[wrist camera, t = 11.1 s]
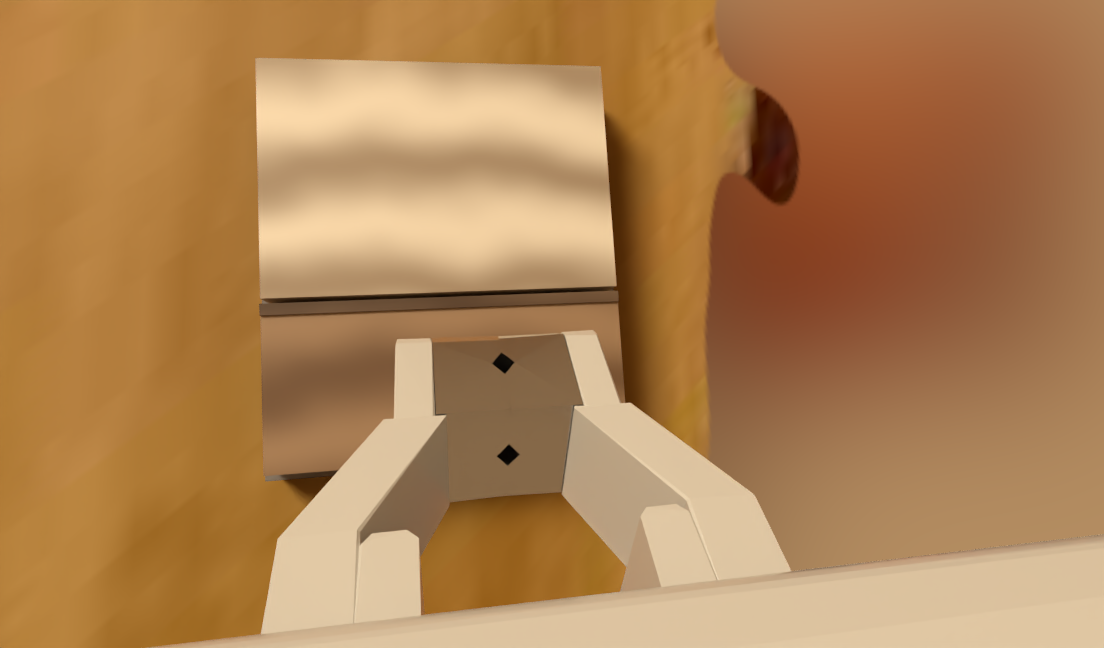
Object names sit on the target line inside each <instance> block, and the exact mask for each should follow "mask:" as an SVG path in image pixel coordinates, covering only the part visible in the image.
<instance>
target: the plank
mask: <svg viewBox="0 0 1104 648" xmlns="http://www.w3.org/2000/svg"><path fill="white" fill-rule="evenodd" d="M256 108H257V158H258V209H259V260H260V299H262V300H264V301H265V302H267V303H295V302H322V301H349V300H376V299H404V298H431V297H458V296H485V295H512V294H540V293H567V292H594V291H609V290H611V289H613V288H614V287H616V286H617V284H616V270H615V257H614V243H613V229H612V216H611V202H610V188H609V175H608V161H607V147H606V134H605V120H604V106H603V93H602V79H601V66H566V65H525V64H485V63H444V62H403V61H363V60H322V59H282V58H256Z"/></svg>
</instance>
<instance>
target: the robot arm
mask: <svg viewBox="0 0 1104 648" xmlns="http://www.w3.org/2000/svg"><path fill="white" fill-rule="evenodd" d="M432 349H433V358H432ZM433 372H434V377H433ZM557 492H562V495H563V496H564V498H565V499H566V500H567V501H568V502H569V503H570V504H571V505H572V506H573V508H574V509H575V510H576V511H577V512H578V513H579V514H580V515H581V517H582V518H583V519H584V520H585V521H586V522H587V523H588V524H589V525H590V527H591V528H592V529H593V530H594V531H595V532H596V533H597V534H598V536H599V537H600V538H601V539H602V540H603V541H604V542H605V543H606V544H607V546H608V547H609V548H610V549H611V550H612V551H613V552H614V553H615V554H616V556H617V557H618V558H619V559H620V560H621V561H622V562H623V563H624V565H625V566H626V567H627V568H626V572H625V576H624V579H623V583H622V587H621V591H620V592H614V593H606V594H597V595H589V596H580V597H572V598H563V599H555V600H546V601H538V602H529V603H521V604H512V605H504V606H495V607H487V608H478V609H470V610H461V611H453V612H444V613H436V614H427V615H425V612H424V599H423V586H422V573H421V560H420V556H421V555H422V553H423V551H424V549H425V548H426V546H427V544H428V542H429V541H430V539H431V537H432V535H433V534H434V532H435V530H436V528H437V527H438V525H439V523H440V521H441V520H442V518H443V516H444V514H445V513H446V511H447V509H448V507H449V502H456V501H465V500H473V499H482V498H490V497H499V496H509V495H525V494H541V493H557ZM149 648H1104V534H1102V535H1094V536H1085V537H1077V538H1068V539H1060V540H1051V541H1043V542H1034V543H1026V544H1017V545H1009V546H1000V547H992V548H984V549H975V550H967V551H958V552H950V553H941V554H933V555H924V556H916V557H908V558H900V559H891V560H883V561H874V562H865V563H857V564H848V565H840V566H832V567H823V568H814V569H806V570H798V571H791V569H790V568H789V565H788V563H787V561H786V560H785V557H784V555H783V553H782V551H781V549H780V547H779V545H778V543H777V541H776V538H775V536H774V534H773V532H772V530H771V528H770V526H769V524H768V522H767V520H766V518H765V516H764V514H763V512H762V510H761V508H760V506H759V504H758V501H757V500H756V497H755V495H754V494H752V493H751V492H750V491H749V490H747V489H746V488H744V487H743V486H742V485H740V484H739V483H738V482H736V481H735V480H734V479H732V478H731V477H730V476H728V475H727V474H726V473H724V472H723V471H721V470H720V469H719V468H718V467H716V466H715V465H714V464H712V463H711V462H710V461H708V460H707V459H706V458H704V457H703V456H702V455H700V454H699V453H698V452H696V451H695V450H694V449H692V448H691V447H690V446H688V445H687V444H685V443H684V442H683V441H681V440H680V439H679V438H677V437H676V436H675V435H673V434H672V433H671V432H669V431H668V430H667V429H665V428H664V427H663V426H661V425H660V424H659V423H657V422H656V421H655V420H653V419H652V418H651V417H649V416H648V415H647V414H645V413H644V412H643V411H641V410H640V409H639V408H637V407H636V406H635V405H633V404H632V403H621V401H620V398H619V395H618V392H617V389H616V386H615V383H614V381H613V378H612V375H611V372H610V369H609V366H608V364H607V361H606V358H605V355H604V352H603V349H602V346H601V344H600V341H599V338H598V335H597V333H596V332H595V331H594V330H584V331H570V332H562V333H549V334H531V335H512V336H480V337H440V338H432V341H431V339H430V338H421V339H397V342H396V345H395V386H394V419H383V420H382V422H381V423H380V424H379V425H378V426H377V427H376V428H375V429H374V431H373V432H372V433H371V434H370V435H369V436H368V437H367V439H366V440H365V441H364V442H363V443H362V444H361V445H360V446H359V448H358V449H357V450H356V451H355V452H354V453H353V454H352V456H351V457H350V458H349V459H348V460H347V461H346V462H345V463H344V465H343V466H342V467H341V468H340V469H339V470H338V471H337V473H336V474H335V475H334V476H333V477H332V478H331V479H330V480H329V482H328V483H327V484H326V485H325V486H324V487H323V488H322V490H321V491H320V492H319V493H318V494H317V495H316V496H315V497H314V499H313V500H312V501H311V502H310V503H309V504H308V505H307V507H306V508H305V509H304V510H303V511H302V512H301V513H300V514H299V516H298V517H297V518H296V519H295V520H294V521H293V522H292V524H291V525H290V526H289V527H288V528H287V529H286V530H285V531H284V533H283V534H282V535H281V536H280V537H279V538H278V541H277V546H276V552H275V558H274V563H273V569H272V575H271V580H270V586H269V592H268V597H267V603H266V608H265V614H264V620H263V625H262V631H261V634H259V635H250V636H242V637H233V638H225V639H216V640H208V641H199V642H191V643H183V644H174V645H166V646H157V647H149Z"/></svg>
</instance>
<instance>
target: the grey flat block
mask: <svg viewBox="0 0 1104 648" xmlns="http://www.w3.org/2000/svg"><path fill="white" fill-rule="evenodd" d="M618 301H619V298H618V291H613V289H611V290H609V291H594V292H567V293H540V294H512V295H485V296H458V297H431V298H404V299H376V300H349V301H322V302H295V303H267V302H265V301H264V300H262V304H259V310H260V316H261V365H262V418H263V472H264V476H265V481H276V480H288V479H301V478H313V477H325V476H334V475H335V474H336V473H337V471H338V470H339V469H340V468H341V467H342V466H343V465H344V463H345V462H346V461H347V460H348V459H349V458H350V457H351V456H352V454H353V453H354V452H355V451H356V450H357V449H358V448H359V446H360V445H361V444H362V443H363V442H364V441H365V440H366V439H367V437H368V436H369V435H370V434H371V433H372V432H373V431H374V429H375V428H376V427H377V426H378V425H379V424H380V423H381V422H382V420H383V419H394V386H395V345H396V342H397V339H421V338H430V339H431V341H432V338H440V337H480V336H512V335H531V334H549V333H562V332H570V331H584V330H594V331H595V332H596V333H597V335H598V338H599V341H600V344H601V346H602V349H603V352H604V355H605V358H606V361H607V364H608V366H609V369H610V372H611V375H612V378H613V381H614V383H615V386H616V389H617V392H618V395H619V398H620V401H621V403H625V391H624V378H623V365H622V351H621V338H620V324H619V311H618ZM432 358H433V349H432ZM433 377H434V372H433Z"/></svg>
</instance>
